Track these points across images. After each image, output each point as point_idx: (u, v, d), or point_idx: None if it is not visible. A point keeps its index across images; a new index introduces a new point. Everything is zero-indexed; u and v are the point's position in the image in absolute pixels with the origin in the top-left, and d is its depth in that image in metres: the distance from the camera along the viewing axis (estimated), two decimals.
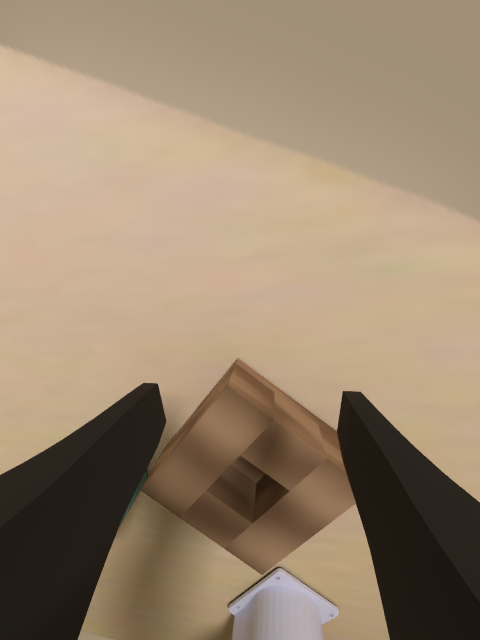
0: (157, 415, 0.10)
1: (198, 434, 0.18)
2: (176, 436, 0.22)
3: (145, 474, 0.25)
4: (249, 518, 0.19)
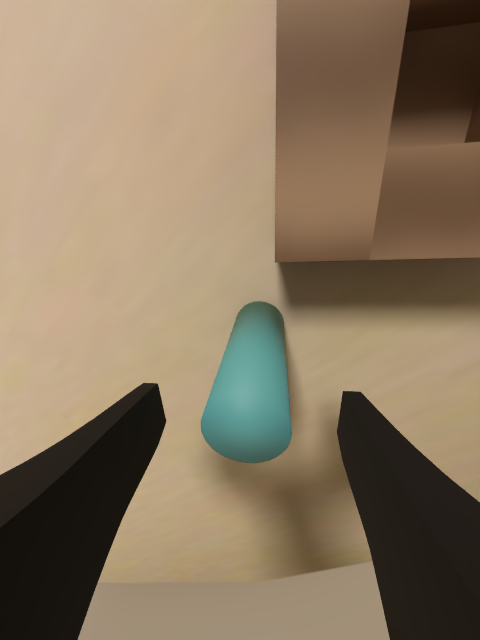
0: (157, 415, 0.10)
1: (297, 9, 0.08)
2: None
3: (276, 310, 0.16)
4: None
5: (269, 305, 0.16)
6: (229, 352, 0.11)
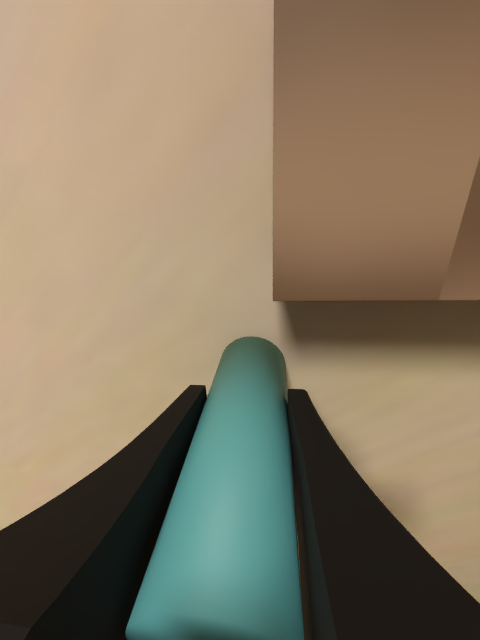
0: None
1: None
2: None
3: (275, 349, 0.12)
4: None
5: (265, 343, 0.12)
6: (198, 445, 0.07)
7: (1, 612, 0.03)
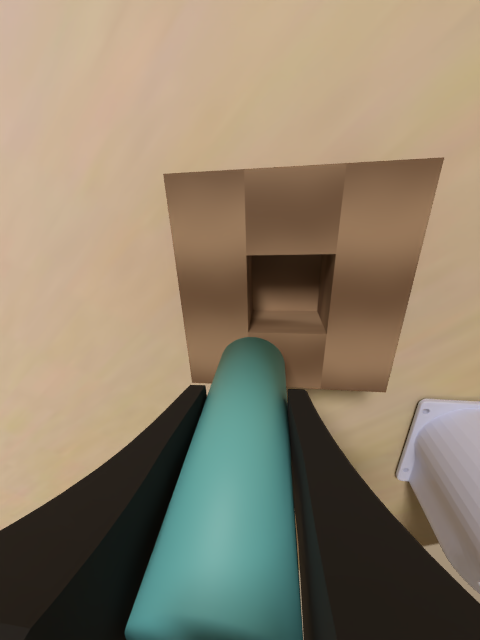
0: None
1: (187, 267, 0.14)
2: None
3: (275, 349, 0.12)
4: (320, 332, 0.14)
5: (265, 343, 0.12)
6: (198, 445, 0.07)
7: (1, 612, 0.03)
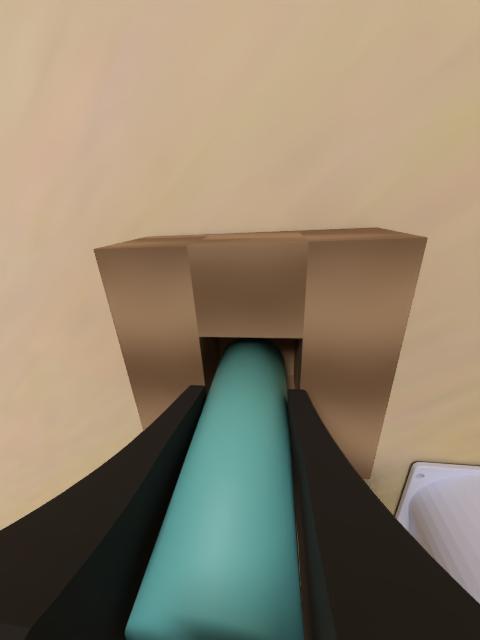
0: None
1: (133, 347, 0.12)
2: None
3: (276, 349, 0.12)
4: None
5: (266, 343, 0.12)
6: (198, 444, 0.07)
7: (1, 612, 0.03)
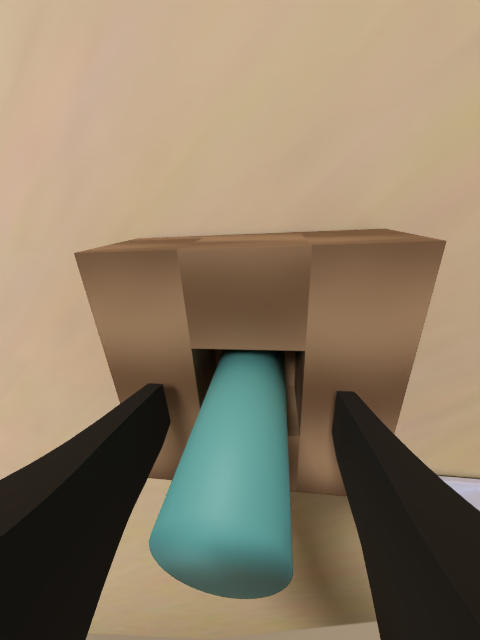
0: (162, 415, 0.10)
1: (120, 359, 0.11)
2: None
3: None
4: (291, 432, 0.11)
5: None
6: (207, 409, 0.08)
7: None
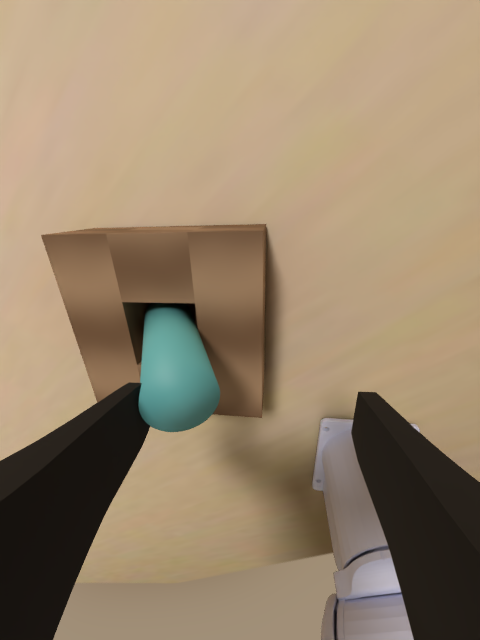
0: None
1: (75, 310, 0.15)
2: None
3: None
4: None
5: None
6: (150, 341, 0.12)
7: None
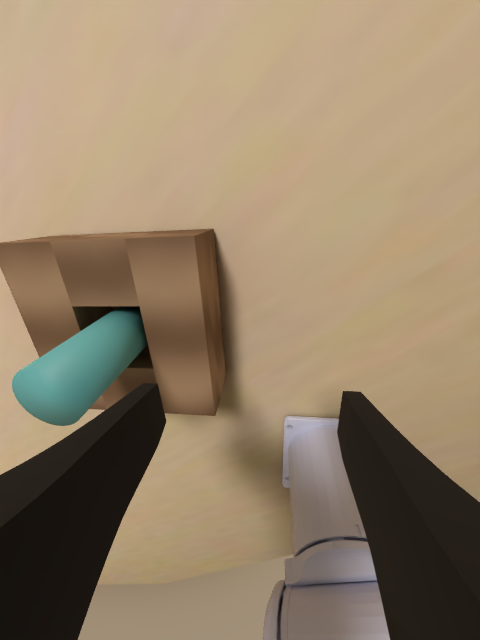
0: (157, 415, 0.10)
1: (30, 315, 0.16)
2: None
3: None
4: (150, 366, 0.17)
5: None
6: (71, 337, 0.13)
7: None
